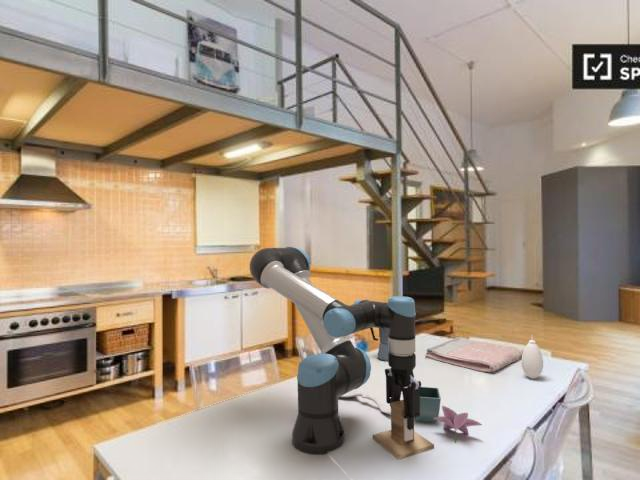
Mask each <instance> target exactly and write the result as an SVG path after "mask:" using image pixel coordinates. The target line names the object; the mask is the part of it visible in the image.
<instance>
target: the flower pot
mask: <svg viewBox="0 0 640 480" xmlns="http://www.w3.org/2000/svg"><path fill="white" fill-rule="evenodd" d="M441 399H442V398H441V394H440V389H439V388H438V387H429V386H428V387H427V386H421V387H420V416H419V417H416V418H415V419H416V421H417V422H419V423H422V422H423V423H431V424H433V423H436V421H437V420H436V419H434V418H435V417H439V415H440V410H441V409H440V408H441V401H442V400H441Z"/></svg>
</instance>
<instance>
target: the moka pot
mask: <svg viewBox="0 0 640 480" xmlns="http://www.w3.org/2000/svg"><path fill="white" fill-rule="evenodd" d="M369 330H370V333H371V335H372V339H373V341H379V344H378V345H379V346H378V351H377V359H378V360H381V361H385V362H388V353H389V350H388V329H382V328H378V336H379V338H376V336H375V331H374V327H371V328H369Z"/></svg>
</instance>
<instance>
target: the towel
mask: <svg viewBox="0 0 640 480" xmlns="http://www.w3.org/2000/svg"><path fill="white" fill-rule="evenodd" d="M523 351H524V349H519V348H517V347H513V346H508V345H502V344H497V343H491V342H487V341H486V342H485V341H477V340H476V341H475V340H472V339H468V338H465V337H462V336H457V337H455V338H454V339H449V340H447V341H444V342H443V343H441V344H438V345H436V346H432V347H430V348H429V347H428V348H427V349H426V353H425V356H424V357H425V358H426V359H429V360H433V361H439V362H442V363H445V364H450V365H455V366H457V367H462V368H466V369H469V370H473V371H478V372H482V373H492V372H496V371H498V370H500V369H502V368H504V367H507V366H509V365H510V364H511V363H515V362H517V361H518V360H519V359H522V354H523Z"/></svg>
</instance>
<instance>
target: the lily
mask: <svg viewBox="0 0 640 480" xmlns="http://www.w3.org/2000/svg"><path fill="white" fill-rule="evenodd" d="M441 409H442V413H443V415H444V416H438V417H435V418H434V419H436V421H439V422H441V423H443V429H445V430H451V429H452V430H454V443H455V444H457V430H458V431H460V432H461V433H463V434H469V429H468V428H469V427H474V426H476V427H478V426H482V425H483V424H482V423H481V422H479V421H477V420H474V419H471V418H468V417H469V413H468V412H461V413H459V414H458V413H457V412H455V411H454V410H453V409H451V408H450V407H447V406H445V405H442V406H441Z"/></svg>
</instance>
